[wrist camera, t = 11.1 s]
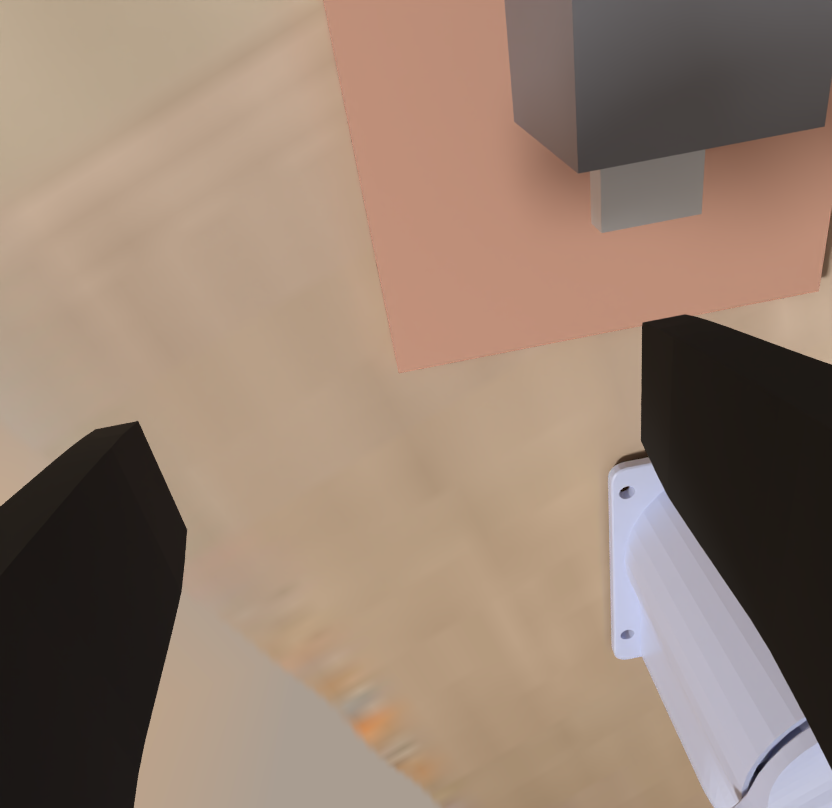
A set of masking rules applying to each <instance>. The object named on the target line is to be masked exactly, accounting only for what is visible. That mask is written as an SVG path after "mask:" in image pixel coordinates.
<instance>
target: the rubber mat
mask: <svg viewBox="0 0 832 808" xmlns="http://www.w3.org/2000/svg"><path fill="white" fill-rule="evenodd" d="M323 1H324V6H325V11H326V16H327V21H328V26H329V31H330V36H331V41H332V46H333V51H334V56H335V61H336V66H337V71H338V75H339V80H340V85H341V90H342V95H343V100H344V105H345V110H346V115H347V120H348V125H349V130H350V135H351V140H352V145H353V149H354V154H355V159H356V164H357V169H358V174H359V179H360V184H361V189H362V194H363V199H364V204H365V209H366V214H367V219H368V224H369V228H370V233H371V238H372V243H373V248H374V253H375V258H376V263H377V268H378V273H379V278H380V283H381V288H382V293H383V298H384V303H385V307H386V312H387V317H388V322H389V327H390V332H391V337H392V342H393V347H394V352H395V357H396V362H397V367H398V372H399V373H403V372H408V371H413V370H418V369H423V368H428V367H433V366H438V365H444V364H449V363H454V362H459V361H464V360H469V359H474V358H479V357H484V356H490V355H495V354H500V353H505V352H510V351H515V350H520V349H525V348H530V347H536V346H541V345H546V344H551V343H556V342H561V341H566V340H571V339H577V338H582V337H587V336H592V335H597V334H602V333H607V332H612V331H617V330H623V329H628V328H633V327H638V326H642V323H643V322H648V321H653V320H658V319H663V318H668V317H673V316H678V315H684V314H686V315H690V316H694V315H699V314H704V313H709V312H715V311H720V310H725V309H730V308H735V307H740V306H745V305H750V304H756V303H761V302H766V301H771V300H776V299H781V298H786V297H791V296H796V295H802V294H807V293H812V292H817V291H819V287H820V280H821V274H822V268H823V261H824V255H825V248H826V242H827V235H828V229H829V222H830V216H831V209H832V79H831V86H830V93H829V100H828V107H827V114H826V121H825V127H820V128H814V129H809V130H804V131H799V132H793V133H788V134H783V135H778V136H772V137H767V138H762V139H757V140H752V141H746V142H741V143H736V144H731V145H725V146H720V147H715V148H710V149H705V164H704V181H703V198H702V214H699V215H693V216H688V217H683V218H678V219H673V220H667V221H662V222H657V223H652V224H647V225H641V226H636V227H631V228H626V229H621V230H615V231H610V232H605V233H601V232H600V231H599V230H598V229H597V228H596V227H595V226H594V225H593V224H592V223H591V192H590V172H584V173H579V174H578V173H577V172H575V171H574V170H573V169H572V168H571V167H569V166H568V165H567V164H566V163H564V162H563V161H562V160H561V159H559V158H558V157H557V156H556V155H555V154H553V153H552V152H551V151H550V150H548V149H547V148H546V147H545V146H543V145H542V144H541V143H540V142H539V141H537V140H536V139H535V138H534V137H532V136H531V135H530V134H529V133H527V132H526V131H525V130H524V129H523V128H521V127H520V126H519V125H518V124H516V123H515V122H514V113H513V101H512V88H511V76H510V63H509V51H508V39H507V26H506V14H505V1H504V0H323Z"/></svg>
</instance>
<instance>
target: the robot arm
mask: <svg viewBox="0 0 832 808" xmlns="http://www.w3.org/2000/svg"><path fill="white" fill-rule="evenodd" d="M641 442H642V444H643V446H644V448H645V450H646V452H647V455H648V457H647V458H642V459H637V460H631V461H626V462H622V463H619V464H617V465H616V466H614V467H613V468H612V469H611V471H610V472H609V475H608V496H609V544H610V592H611V640H612V649H613V652H614V654H615V656H616V657H617V658H619V659H623V660H624V659H631V658H636V657H643V660H644V662H645V664H646V666H647V668H648V670H649V673H650V675H651V677H652V679H653V681H654V684H655V686H656V688H657V690H658V692H659V694H660V697H661V699H662V701H663V703H664V705H665V708H666V710H667V712H668V714H669V716H670V719H671V721H672V723H673V725H674V727H675V729H676V732H677V734H678V736H679V738H680V740H681V743H682V745H683V747H684V749H685V751H686V753H687V756H688V758H689V760H690V762H691V764H692V767H693V769H694V771H695V773H696V775H697V777H698V780H699V782H700V784H701V786H702V788H703V790H704V792H705V794H706V795H707V797H708V799H709V801H710V802H711V804H712V805H713V807H714V808H832V365H831V364H828V363H825V362H822V361H819V360H817V359H814V358H811V357H808V356H805V355H802V354H800V353H797V352H794V351H791V350H789V349H786V348H783V347H780V346H778V345H775V344H772V343H770V342H767V341H764V340H761V339H759V338H756V337H753V336H751V335H748V334H745V333H742V332H740V331H737V330H734V329H732V328H729V327H726V326H723V325H720V324H717V323H714V322H711V321H708V320H705V319H702V318H698V317H695V316H690V315H686V314H684V315H678V316H673V317H668V318H663V319H658V320H653V321H648V322H643V323H642V395H641ZM627 486H630V487H629V488H628V489H627V490H625V491H620V490H621V489H622V488H624V487H627ZM186 536H187V529H186V526H185V524H184V522H183V520H182V517H181V515H180V513H179V511H178V509H177V506H176V504H175V502H174V500H173V497H172V495H171V493H170V491H169V489H168V486H167V484H166V482H165V480H164V477H163V475H162V473H161V471H160V469H159V466H158V464H157V462H156V460H155V457H154V455H153V453H152V451H151V449H150V446H149V444H148V442H147V440H146V437H145V435H144V433H143V431H142V429H141V426H140V424H139V422H138V421H136V422H131V423H126V424H121V425H116V426H111V427H106V428H101V429H96V430H94V431H93V432H91V433H89V434H88V435H86V436H85V437H84V438H82V439H81V440H79V441H78V442H77V443H75V444H74V445H73V446H72V447H70V448H69V449H68V450H67V451H65V452H64V453H63V454H62V455H61V456H59V457H58V458H57V459H56V460H55V461H53V462H52V463H51V464H50V465H49V466H47V467H46V468H45V469H44V470H43V471H42V472H40V473H39V474H38V475H37V476H36V477H34V478H33V479H32V480H31V481H30V482H29V483H27V484H26V485H25V486H24V487H23V488H22V489H20V490H19V491H18V492H17V493H16V494H15V495H13V496H12V497H11V498H10V499H9V500H7V501H6V502H5V503H4V504H3V505H2V506H0V808H134V801H135V794H136V787H137V780H138V773H139V768H140V763H141V758H142V753H143V749H144V744H145V739H146V735H147V731H148V727H149V723H150V719H151V715H152V710H153V707H154V703H155V698H156V695H157V691H158V686H159V683H160V678H161V674H162V671H163V666H164V662H165V659H166V654H167V650H168V646H169V642H170V638H171V634H172V630H173V626H174V621H175V617H176V613H177V609H178V604H179V600H180V595H181V591H182V581H183V572H184V563H185V550H186Z"/></svg>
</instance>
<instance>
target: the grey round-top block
mask: <svg viewBox="0 0 832 808" xmlns="http://www.w3.org/2000/svg"><path fill="white" fill-rule="evenodd" d="M504 1H505V14H506V26H507V39H508V51H509V63H510V76H511V88H512V101H513V113H514V122H515V123H516V124H518V125H519V126H520V127H521V128H523V129H524V130H525V131H526V132H527V133H529V134H530V135H531V136H532V137H534V138H535V139H536V140H537V141H539V142H540V143H541V144H542V145H543V146H545V147H546V148H547V149H548V150H550V151H551V152H552V153H553V154H555V155H556V156H557V157H558V158H559V159H561V160H562V161H563V162H564V163H566V164H567V165H568V166H569V167H571V168H572V169H573V170H574V171H575V172H577V173H578V174H579V173H584V172H590V192H591V223H592V224H593V225H594V226H595V227H596V228H597V229H598V230H599V231H600V232H601V233H605V232H610V231H615V230H621V229H626V228H631V227H636V226H641V225H647V224H652V223H657V222H662V221H667V220H673V219H678V218H683V217H688V216H693V215H699V214H702V198H703V181H704V164H705V149H710V148H715V147H720V146H725V145H731V144H736V143H741V142H746V141H752V140H757V139H762V138H767V137H772V136H778V135H783V134H788V133H793V132H799V131H804V130H809V129H814V128H820V127H825V121H826V114H827V107H828V100H829V93H830V86H831V79H832V0H504Z"/></svg>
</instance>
